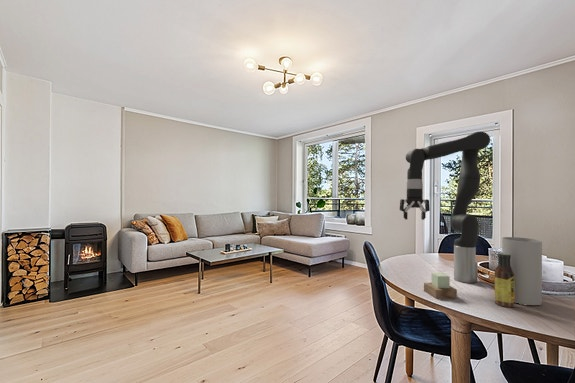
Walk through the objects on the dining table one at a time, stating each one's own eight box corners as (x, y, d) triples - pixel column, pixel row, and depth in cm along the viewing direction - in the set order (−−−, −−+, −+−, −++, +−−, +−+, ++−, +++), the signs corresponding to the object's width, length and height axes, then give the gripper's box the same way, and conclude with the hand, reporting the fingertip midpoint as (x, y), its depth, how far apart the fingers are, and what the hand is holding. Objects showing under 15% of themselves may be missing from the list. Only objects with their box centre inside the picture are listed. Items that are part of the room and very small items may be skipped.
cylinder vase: (501, 293, 123) (501, 236, 123) (539, 299, 116) (539, 239, 116) (502, 301, 113) (502, 239, 113) (544, 309, 106) (544, 243, 106)
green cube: (442, 284, 123) (443, 272, 123) (449, 288, 118) (449, 276, 118) (431, 284, 123) (431, 272, 123) (437, 288, 118) (437, 276, 118)
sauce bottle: (515, 309, 105) (516, 256, 106) (495, 305, 109) (495, 254, 109) (513, 303, 111) (513, 253, 111) (493, 300, 114) (493, 251, 114)
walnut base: (443, 291, 125) (443, 282, 125) (456, 299, 116) (456, 289, 116) (423, 291, 125) (423, 282, 125) (435, 299, 116) (435, 289, 116)
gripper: (425, 188, 148) (425, 219, 148) (398, 188, 149) (397, 218, 149) (432, 188, 140) (431, 220, 140) (403, 187, 141) (402, 220, 141)
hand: (414, 219), depth 144 cm, fingers open, 8 cm apart
